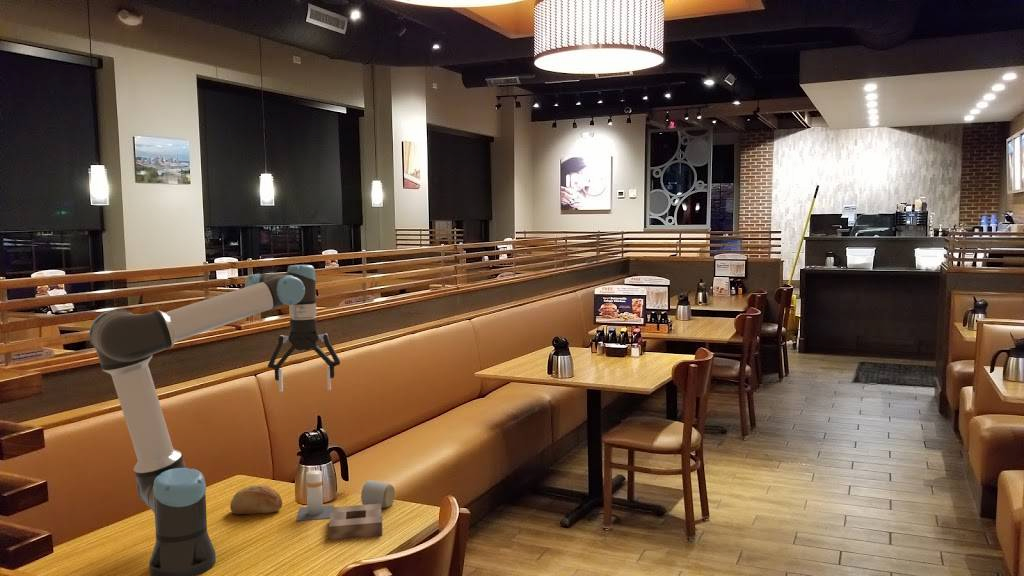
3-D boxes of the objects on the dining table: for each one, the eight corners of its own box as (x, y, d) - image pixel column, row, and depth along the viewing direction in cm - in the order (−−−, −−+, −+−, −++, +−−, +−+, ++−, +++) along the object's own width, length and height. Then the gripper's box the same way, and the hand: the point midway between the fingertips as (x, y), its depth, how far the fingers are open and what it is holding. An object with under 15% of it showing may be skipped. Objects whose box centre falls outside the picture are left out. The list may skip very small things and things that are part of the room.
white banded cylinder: (306, 516, 214) (305, 475, 213) (308, 510, 219) (306, 470, 218) (322, 514, 215) (321, 474, 214) (323, 509, 220) (322, 469, 219)
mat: (296, 522, 211) (296, 520, 211) (299, 509, 221) (299, 507, 221) (332, 519, 213) (332, 517, 213) (334, 506, 223) (333, 505, 223)
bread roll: (278, 517, 215) (277, 491, 214) (225, 520, 214) (224, 493, 213) (285, 505, 224) (284, 479, 224) (234, 507, 223) (233, 481, 222)
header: (328, 541, 198) (327, 526, 198) (331, 520, 212) (330, 507, 212) (382, 536, 201) (382, 522, 200) (382, 516, 215) (381, 503, 215)
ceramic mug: (385, 512, 218) (385, 486, 218) (360, 509, 221) (360, 484, 220) (400, 500, 228) (400, 475, 228) (377, 497, 231) (376, 473, 230)
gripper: (256, 321, 208) (258, 395, 210) (346, 318, 213) (348, 390, 214) (260, 317, 215) (262, 389, 217) (347, 315, 220) (349, 385, 222)
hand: (305, 390), depth 216 cm, fingers open, 13 cm apart
